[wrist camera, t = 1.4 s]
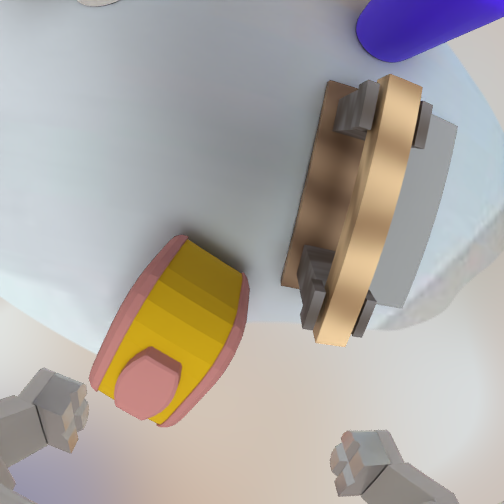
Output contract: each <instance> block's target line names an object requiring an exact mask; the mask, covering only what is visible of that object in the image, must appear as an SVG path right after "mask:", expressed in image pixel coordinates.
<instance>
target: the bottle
mask: <svg viewBox="0 0 504 504" xmlns="http://www.w3.org/2000/svg"><path fill="white" fill-rule="evenodd" d="M502 17H504V0H371V1H370V2H369V3H368V5H367V6H366V7H365V9H364V10H363V12H362V13H361V15H360V16H359V19H358V21H357V25H356V32H357V36H358V39H359V41H360V43H361V44H362V46H363V47H364V48H365V50H366V51H367V52H369V53H370V54H371V55H372V56H374V57H375V58H377V59H380V60H382V61H386V62H398V61H403V60H406V59H408V58H411V57H413V56H415V55H418V54H420V53H422V52H424V51H427V50H429V49H431V48H433V47H436V46H438V45H440V44H442V43H445V42H447V41H449V40H451V39H454V38H456V37H458V36H461V35H463V34H465V33H468V32H470V31H472V30H475V29H477V28H479V27H482V26H484V25H486V24H489V23H491V22H493V21H495V20H498V19H500V18H502Z"/></svg>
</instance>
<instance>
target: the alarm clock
mask: <svg viewBox="0 0 504 504" xmlns="http://www.w3.org/2000/svg"><path fill="white" fill-rule="evenodd" d="M188 238H189V237H188V236H185V235H178V236H175V237H174V238H172V239H171V240H170V241H169V242H168V243H167V244H166V245H165V246H164V248H163V249H162V250H161V251H160V252H159V253H158V254H157V256H156V257H155V258H154V259H153V260H152V261H151V263H150V264H149V265H148V266H147V267H146V268H145V270H144V271H143V272H142V274H141V275H140V276H139V278H138V279H137V281H136V282H135V284H134V285H133V287H132V288H131V290H130V291H129V293H128V295H127V296H126V298H125V300H124V301H123V303H122V305H121V307H120V308H119V310H118V312H117V314H116V316H115V318H114V320H113V322H112V324H111V326H110V328H109V330H108V333H107V335H106V337H105V339H104V341H103V343H102V346H101V348H100V350H99V352H98V354H97V357H96V359H95V361H94V363H93V366H92V369H91V372H90V375H89V381H90V384H91V387H92V388H93V389H94V390H95V391H96V392H97V391H98V390H99V391H101V392H102V393H104V394H105V395H107V396H109V397H110V398H112V399H114V400H115V405H116V407H118V408H120V409H122V410H123V411H125V412H127V413H129V414H130V415H132V416H134V417H136V418H138V419H140V420H145V419H149V420H151V421H154V422H155V423H157V426H159V427H169V426H173V425H175V424H176V423H177V422H178V421H180V420H181V419H182V418H183V417H184V416H185V415H186V414H187V413H188V412H189V411H190V410H191V409H192V408H193V407H194V406H195V405H196V404H197V403H198V401H199V400H200V399H201V398H202V397H203V396H204V395H205V394H206V393H207V392H208V391H209V390H210V389H211V388H212V387H213V385H214V384H215V383H216V382H217V381H218V379H219V378H220V377H221V376H222V374H223V373H224V371H225V370H226V368H227V367H228V365H229V363H230V362H231V360H232V358H233V357H234V355H235V352H236V350H237V348H238V345H239V343H240V341H241V339H242V336H243V332H244V328H245V324H246V321H247V311H248V301H249V292H250V289H249V284H248V279H247V276H246V275H245V273H244V272H243V273H240V272H238V271H237V270H235V269H233V268H232V267H230V266H229V265H227V264H226V263H224V262H222V261H221V260H219V259H218V258H216V257H215V256H213V255H211V254H210V253H208V252H207V251H205V250H204V249H202V248H201V247H199V246H197V245H196V244H194V243H193V242H191V241H190V240H188Z"/></svg>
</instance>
